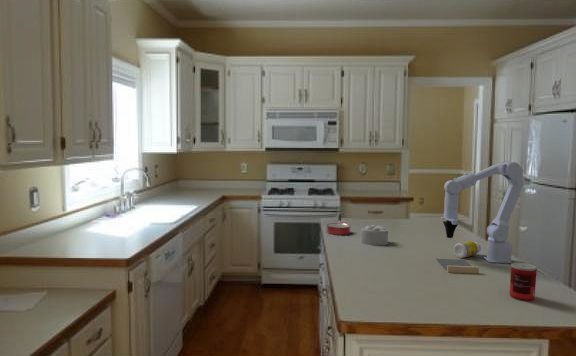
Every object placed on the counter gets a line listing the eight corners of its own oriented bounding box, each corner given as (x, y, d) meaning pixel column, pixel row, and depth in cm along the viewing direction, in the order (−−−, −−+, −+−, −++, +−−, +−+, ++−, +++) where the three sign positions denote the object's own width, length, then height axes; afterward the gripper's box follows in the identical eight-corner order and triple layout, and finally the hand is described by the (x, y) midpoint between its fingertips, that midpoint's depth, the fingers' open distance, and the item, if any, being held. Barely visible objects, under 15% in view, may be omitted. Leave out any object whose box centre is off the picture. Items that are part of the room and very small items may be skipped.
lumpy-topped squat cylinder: (388, 245, 225) (389, 228, 224) (362, 244, 225) (362, 227, 224) (385, 240, 235) (385, 224, 234) (359, 240, 235) (360, 223, 235)
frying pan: (325, 224, 278) (325, 213, 278) (346, 224, 278) (346, 214, 277) (327, 235, 247) (327, 223, 246) (351, 235, 246) (351, 224, 245)
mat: (464, 260, 199) (464, 255, 198) (478, 273, 179) (478, 267, 179) (436, 259, 200) (436, 253, 199) (447, 272, 181) (447, 266, 180)
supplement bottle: (468, 253, 198) (485, 249, 205) (459, 240, 202) (477, 237, 209) (458, 261, 203) (476, 257, 210) (450, 248, 206) (467, 245, 213)
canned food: (526, 293, 157) (528, 262, 156) (539, 301, 150) (542, 269, 149) (504, 293, 157) (506, 262, 156) (517, 301, 149) (519, 268, 148)
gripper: (437, 204, 207) (436, 233, 208) (446, 209, 193) (444, 241, 194) (453, 205, 207) (452, 234, 208) (463, 210, 192) (461, 241, 193)
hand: (449, 237), depth 201 cm, fingers closed
